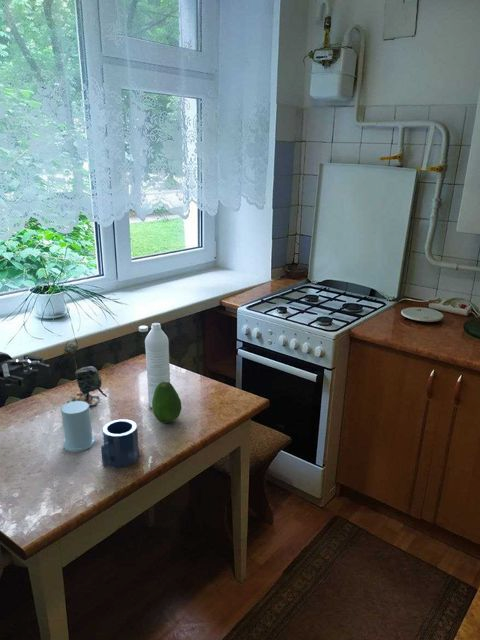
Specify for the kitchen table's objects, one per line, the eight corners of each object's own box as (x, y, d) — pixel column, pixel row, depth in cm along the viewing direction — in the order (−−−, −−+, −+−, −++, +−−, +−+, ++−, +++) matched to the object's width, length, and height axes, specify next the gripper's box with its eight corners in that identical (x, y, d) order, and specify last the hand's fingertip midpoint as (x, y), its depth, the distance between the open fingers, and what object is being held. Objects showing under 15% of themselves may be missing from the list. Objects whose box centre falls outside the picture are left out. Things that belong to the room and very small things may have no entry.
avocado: (147, 421, 136) (145, 381, 132) (171, 411, 141) (169, 373, 137) (164, 432, 131) (162, 391, 126) (188, 422, 136) (187, 383, 132)
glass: (93, 450, 122) (88, 413, 118) (61, 452, 121) (56, 415, 117) (96, 434, 129) (92, 399, 125) (66, 436, 127) (61, 400, 124)
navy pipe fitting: (117, 446, 124) (115, 416, 121) (145, 453, 122) (143, 422, 119) (90, 470, 114) (86, 438, 111) (119, 478, 112) (116, 446, 109)
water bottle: (161, 396, 150) (157, 318, 140) (175, 403, 146) (172, 323, 137) (137, 406, 143) (132, 325, 134) (151, 414, 140) (147, 331, 130)
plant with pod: (98, 411, 140) (91, 346, 133) (61, 407, 142) (53, 342, 134) (111, 399, 147) (106, 336, 140) (76, 394, 149) (69, 332, 142)
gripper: (-40, 360, 120) (11, 373, 115) (8, 341, 133) (56, 352, 127) (-34, 388, 123) (15, 401, 118) (13, 367, 136) (59, 378, 130)
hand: (36, 376), depth 123 cm, fingers open, 8 cm apart
